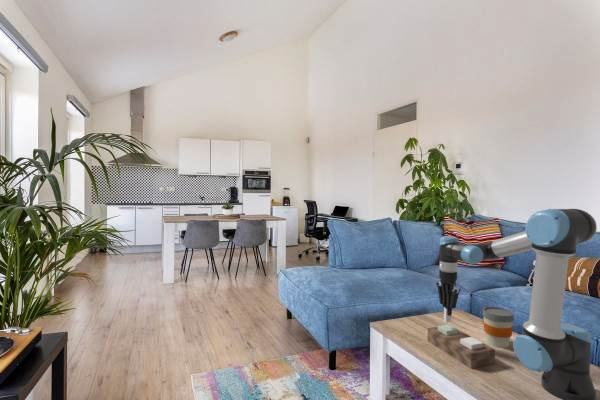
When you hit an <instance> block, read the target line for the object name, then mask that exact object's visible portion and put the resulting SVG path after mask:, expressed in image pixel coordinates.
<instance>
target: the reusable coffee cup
mask: <svg viewBox="0 0 600 400" xmlns="http://www.w3.org/2000/svg"><path fill="white" fill-rule="evenodd" d="M514 315H515V314H514V312H513V311H512V310H510V309H507V308H504V307H500V306H499V307H498V306H485V307H483V309H482V317H483V320H482V323H483V324H482V325H483V332H484V333H485V340H486V341H485V342H486V343H487V345H490V346H492V347H495V348H501V349H506V348H509V347H510V341H511V337H512V335H513V330H514V325H513V324H514V321H515V316H514Z"/></svg>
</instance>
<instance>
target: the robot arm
mask: <svg viewBox="0 0 600 400" xmlns="http://www.w3.org/2000/svg"><path fill="white" fill-rule="evenodd" d="M596 232H597V222H596V220H595V218H594V217H593V216H592V215H591V214H590V213H588V211H585V210H583V209H579V208H549V209H542V210H539V211H536V212H535V213H533V214H532V215H531V216H530V217H529V218H528V220H527V221H526V224H525V230H523V231H520V232H517V233H514V234H512V235H508V236H505V237H502V238H498V239H495V240H492V241H488V242H483V243H469V244H468V243H461V242H459V240H458V239H459V238H457V236H452V235H451V236H450V235H448V236H447V235H444V236H441V237H440V239H439V266H438V267H439V271H438V273H439V274H438V277H439V279H440V280H439V282H438V281H437V282H436V283H435V285H436V286H437V291H438V292H437V293H438V299H439V304H440V305H442V312H443V322H444V323H451V322H452V316H453V313H452V312H453V309H457V303H458V299H459V294H460V292H461V289H460V288H458V287H457V283H456V281H457V280H458V261H459V262H463V263H466V264H471V265H478V264H479V263H481V262H483V261H497V260H500V259H502V258H505V257H508V256H512V255H518V254H521V253H525V252H530V251H533V252H534V253H536V254H535V262H534V271H533V282H532V289H531V300H530V307H529V318H528V320H527V321H525V322H524V323H523V324H522V331H521V334H519V335H517V336H516V337H515V338H514V340H513V343H512V344H513V345H512V347H513V351H514V354H515V355H516V357H517V359H518V360H519V362H520V363H521V364H522V365H523V366H524V367H526V368H527V369H529V370H531V371H533V372H536V373H542V372H543V373H542V374H541V382H540V383H541V386H542V388H543V389H544V390H545V391H547V392H548V393H550V394H551V395H553V396H555V397H557V398H560V399H562V400H597V391H596V389H595V386H594V383H593V380H592V377H591V375H590V373H591V371H590V369H591V344H592V342H591V334H590V332H589V331H587V330H586V329H585V328H582V327H579V326H577V325H573V324H571V323H566V322H562V317H563V310H564V300H565V292H566V285H567V284H566V283H567V277H568V276H567V275H568V268H569V259H570V258H571V257H573V256H575V255H576V252H577V245H578V244H582V243H585V242H588V241H590V240H591V239H592V238H594V236H595V235H596Z"/></svg>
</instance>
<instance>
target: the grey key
mask: <svg viewBox="0 0 600 400" xmlns="http://www.w3.org/2000/svg"><path fill="white" fill-rule="evenodd" d="M460 343H461V344H462V345H464V346H466V347H467V348H469V349H471V350H473V349H478V348H483V343H484V342H482V341H480V340H479V339H476V338H475V337H473V336H470V337H468V338H462V339H460Z"/></svg>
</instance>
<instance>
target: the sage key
mask: <svg viewBox="0 0 600 400" xmlns="http://www.w3.org/2000/svg"><path fill="white" fill-rule="evenodd" d="M437 327H438V331H440V332H441V333H443V334H445V335H453V334H458V330H459V329H458V328H456V327H455V326H452V325H450V324H442V325H437Z"/></svg>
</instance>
